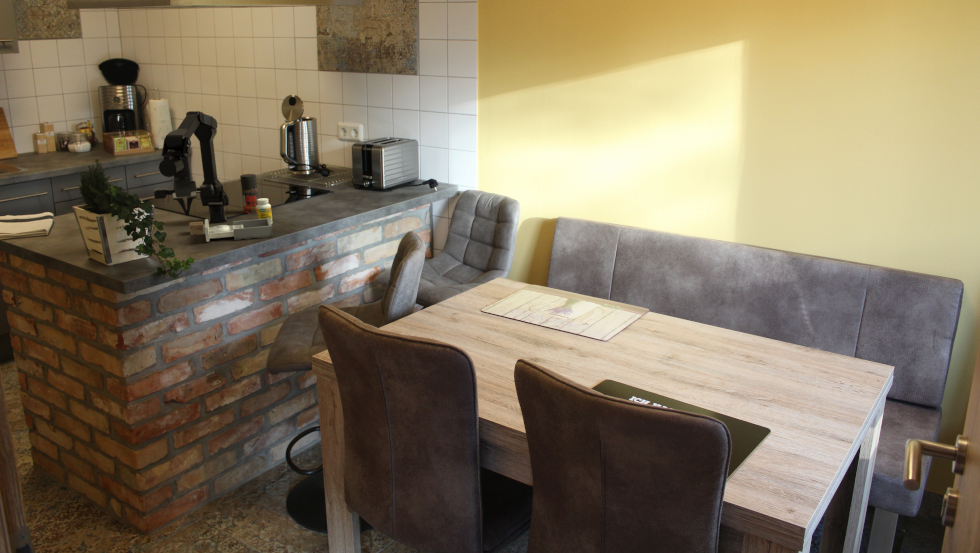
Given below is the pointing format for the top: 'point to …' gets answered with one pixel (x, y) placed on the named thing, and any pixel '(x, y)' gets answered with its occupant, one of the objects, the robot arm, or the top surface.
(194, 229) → the pedestal
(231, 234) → the tray
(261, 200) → the supplement bottle
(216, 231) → the disc
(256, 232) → the housing
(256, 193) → the deodorant
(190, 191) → the robot arm
